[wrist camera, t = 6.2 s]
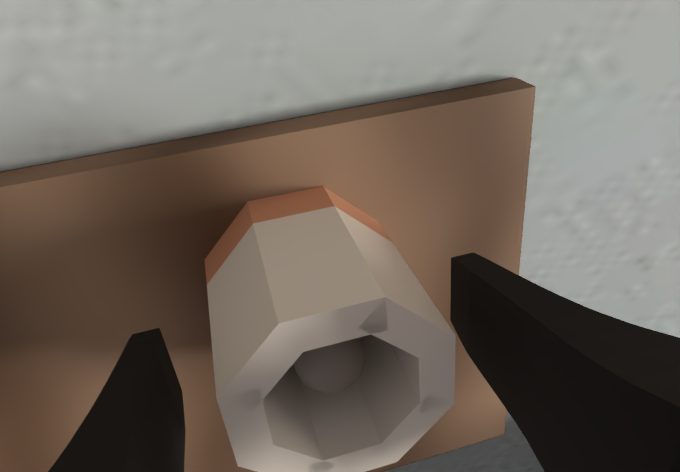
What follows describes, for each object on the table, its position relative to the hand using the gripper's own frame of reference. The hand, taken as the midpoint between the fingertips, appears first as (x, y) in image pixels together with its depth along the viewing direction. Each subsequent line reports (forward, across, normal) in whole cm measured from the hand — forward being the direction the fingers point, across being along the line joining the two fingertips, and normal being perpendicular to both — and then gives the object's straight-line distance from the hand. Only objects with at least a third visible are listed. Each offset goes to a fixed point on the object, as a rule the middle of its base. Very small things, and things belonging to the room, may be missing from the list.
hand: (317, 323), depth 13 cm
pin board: (+3, +3, +3) cm, 5 cm away
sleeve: (+2, 0, 0) cm, 2 cm away
